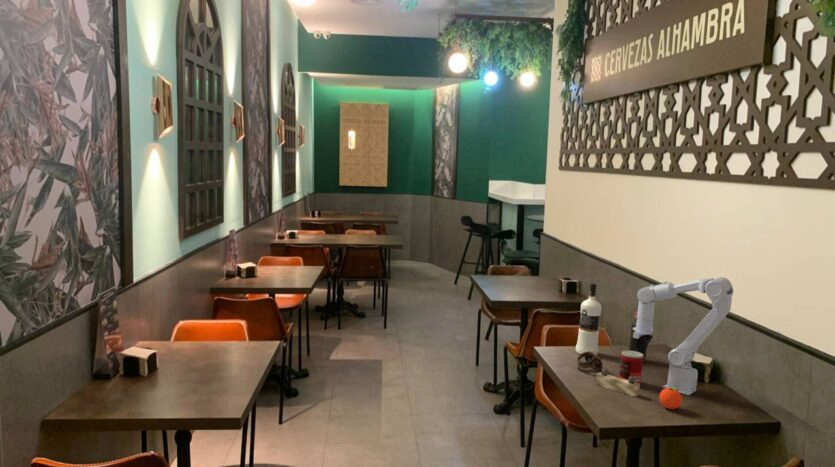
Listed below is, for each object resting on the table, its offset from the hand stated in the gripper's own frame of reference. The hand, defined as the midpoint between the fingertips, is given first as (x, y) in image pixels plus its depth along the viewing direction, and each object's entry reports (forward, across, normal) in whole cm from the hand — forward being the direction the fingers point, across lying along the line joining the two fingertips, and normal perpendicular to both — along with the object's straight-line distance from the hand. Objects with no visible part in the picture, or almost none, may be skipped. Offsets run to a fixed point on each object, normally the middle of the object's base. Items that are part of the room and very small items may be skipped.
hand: (641, 353), depth 236 cm
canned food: (+10, +8, 0) cm, 13 cm away
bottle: (+10, -21, -10) cm, 25 cm away
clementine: (+10, +21, +20) cm, 30 cm away
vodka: (+10, -12, -28) cm, 32 cm away
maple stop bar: (+9, +20, 0) cm, 22 cm away
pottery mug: (+10, +7, -17) cm, 21 cm away
